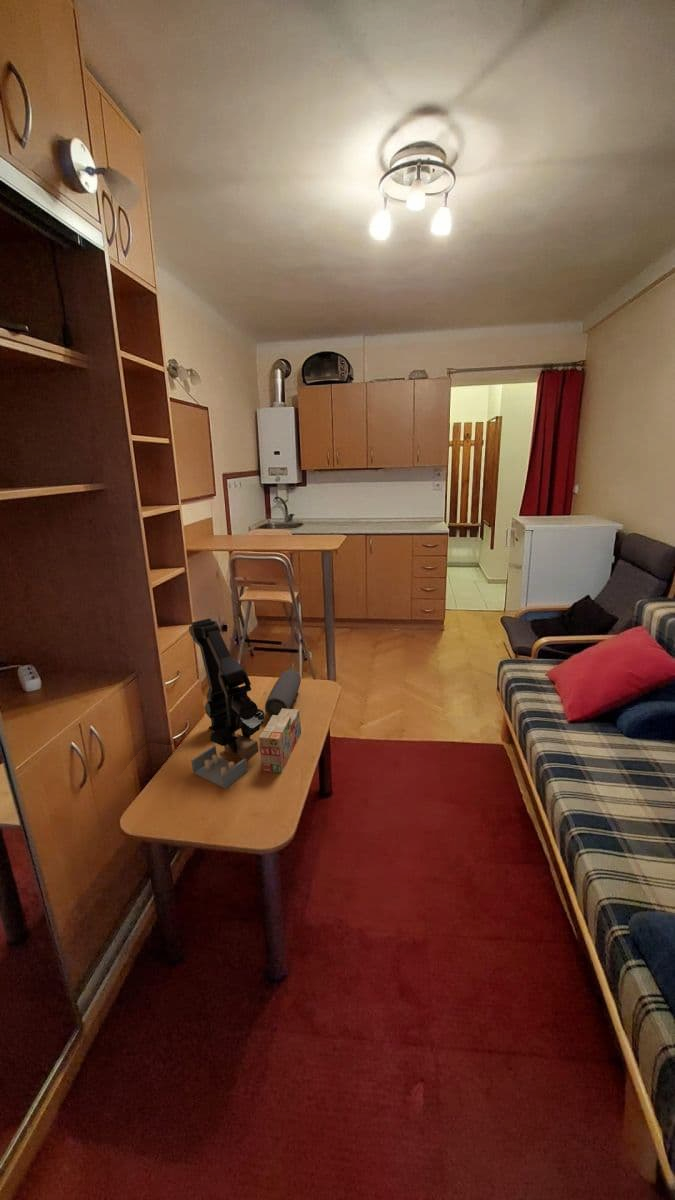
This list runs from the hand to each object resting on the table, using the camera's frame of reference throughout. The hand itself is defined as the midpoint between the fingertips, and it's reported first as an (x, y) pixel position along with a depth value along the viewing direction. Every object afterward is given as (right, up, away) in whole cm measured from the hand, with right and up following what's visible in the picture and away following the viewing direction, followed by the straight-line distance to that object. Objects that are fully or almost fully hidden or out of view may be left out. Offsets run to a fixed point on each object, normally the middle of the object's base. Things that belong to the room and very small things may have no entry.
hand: (241, 748), depth 150 cm
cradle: (-4, -4, -9) cm, 11 cm away
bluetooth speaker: (+11, +8, +27) cm, 30 cm away
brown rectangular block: (0, -1, 0) cm, 1 cm away
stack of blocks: (+14, -1, 0) cm, 14 cm away
